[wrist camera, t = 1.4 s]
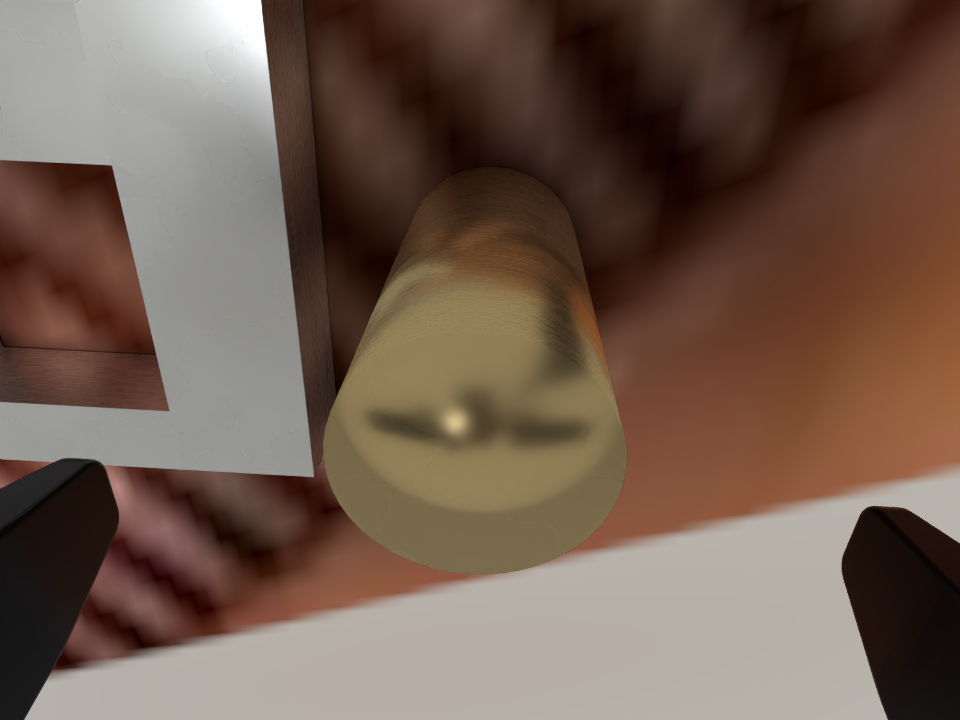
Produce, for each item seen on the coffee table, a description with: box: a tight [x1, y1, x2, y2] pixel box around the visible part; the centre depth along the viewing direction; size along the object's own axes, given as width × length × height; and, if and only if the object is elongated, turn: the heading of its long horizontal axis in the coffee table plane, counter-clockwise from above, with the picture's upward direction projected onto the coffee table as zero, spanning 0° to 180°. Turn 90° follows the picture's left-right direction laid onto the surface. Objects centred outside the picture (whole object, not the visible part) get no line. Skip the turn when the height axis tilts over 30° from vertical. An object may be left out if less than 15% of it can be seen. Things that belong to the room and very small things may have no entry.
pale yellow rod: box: [323, 167, 627, 574], centre depth 12 cm, size 4×4×8 cm
